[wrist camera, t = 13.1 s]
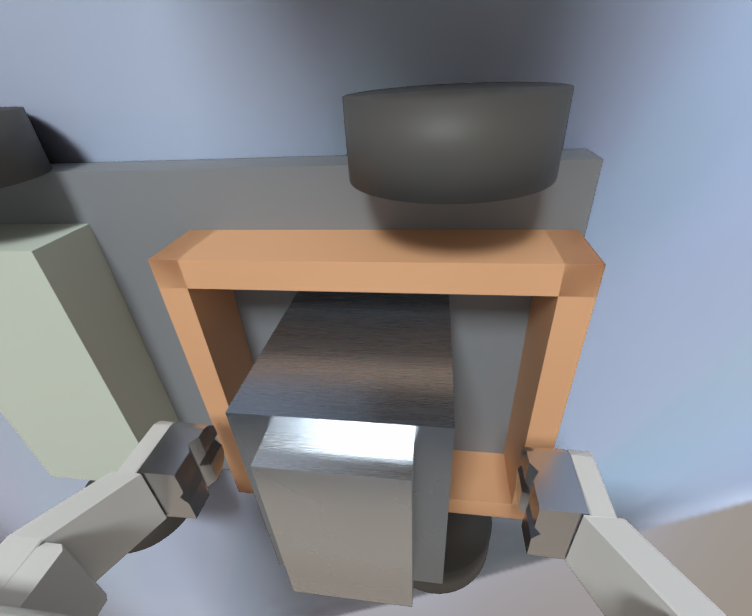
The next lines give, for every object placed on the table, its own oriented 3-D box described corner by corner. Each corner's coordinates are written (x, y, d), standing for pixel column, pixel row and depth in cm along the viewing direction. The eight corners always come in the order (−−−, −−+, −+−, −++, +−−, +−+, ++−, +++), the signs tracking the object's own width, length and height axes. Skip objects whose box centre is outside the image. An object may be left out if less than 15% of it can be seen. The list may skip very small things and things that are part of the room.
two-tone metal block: (323, 424, 15) (269, 596, 10) (299, 289, 12) (205, 445, 7) (441, 433, 15) (442, 619, 10) (448, 292, 11) (456, 466, 7)
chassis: (113, 456, 21) (43, 544, 17) (-102, 112, 12) (-341, 137, 8) (512, 492, 18) (531, 606, 14) (602, 76, 9) (711, 89, 6)
